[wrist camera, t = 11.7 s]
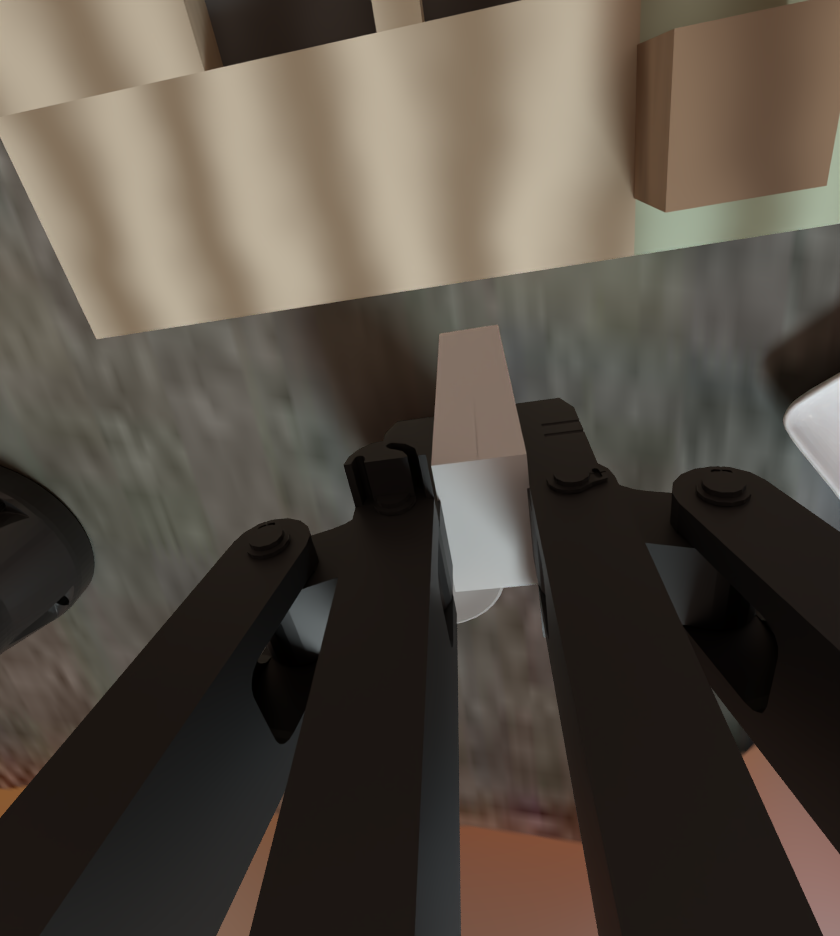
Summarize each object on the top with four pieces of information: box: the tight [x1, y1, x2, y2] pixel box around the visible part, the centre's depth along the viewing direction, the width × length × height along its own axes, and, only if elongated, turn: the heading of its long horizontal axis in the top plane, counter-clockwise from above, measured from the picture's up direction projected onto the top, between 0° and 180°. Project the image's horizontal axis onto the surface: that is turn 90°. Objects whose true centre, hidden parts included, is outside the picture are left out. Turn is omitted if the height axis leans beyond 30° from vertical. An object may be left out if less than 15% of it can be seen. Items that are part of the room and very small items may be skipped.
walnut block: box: [634, 0, 840, 213], centre depth 23 cm, size 6×6×5 cm
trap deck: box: [0, 0, 840, 339], centre depth 25 cm, size 40×22×3 cm, turn 100°
